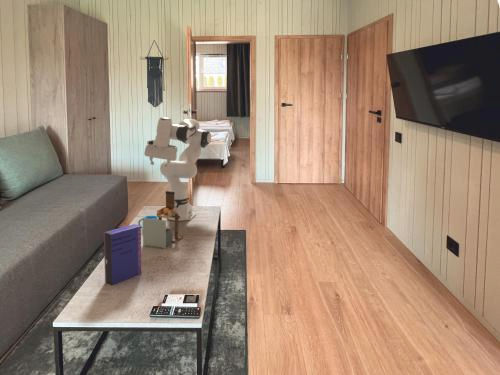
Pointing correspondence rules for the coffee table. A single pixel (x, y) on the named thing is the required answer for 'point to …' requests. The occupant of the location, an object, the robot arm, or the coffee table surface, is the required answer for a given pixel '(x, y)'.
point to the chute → (168, 206)
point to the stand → (176, 236)
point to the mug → (148, 218)
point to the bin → (156, 233)
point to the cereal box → (122, 254)
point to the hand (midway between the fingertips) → (159, 165)
